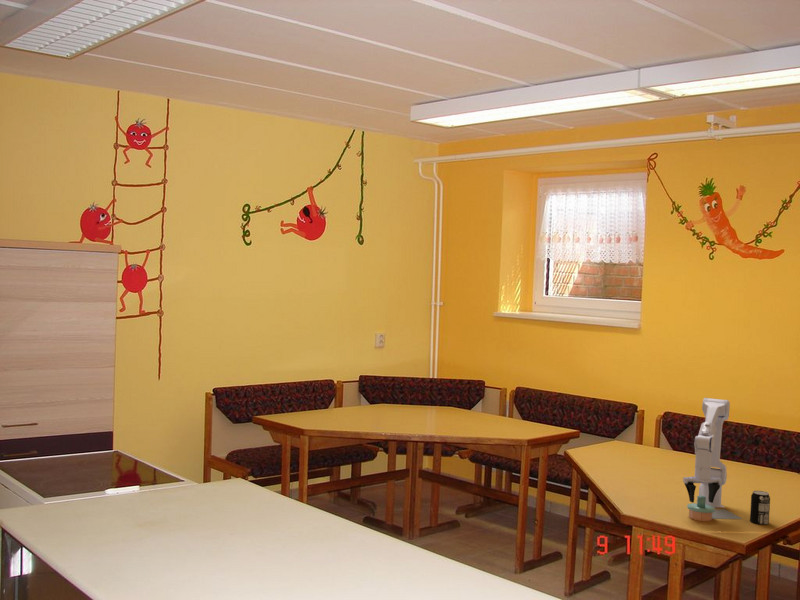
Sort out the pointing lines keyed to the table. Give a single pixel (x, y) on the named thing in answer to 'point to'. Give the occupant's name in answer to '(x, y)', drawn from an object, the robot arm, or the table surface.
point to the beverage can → (760, 507)
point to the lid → (701, 506)
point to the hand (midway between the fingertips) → (701, 501)
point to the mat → (724, 514)
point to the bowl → (700, 515)
